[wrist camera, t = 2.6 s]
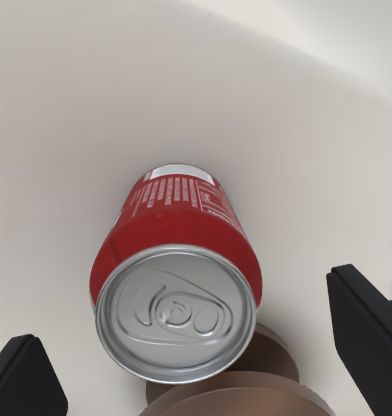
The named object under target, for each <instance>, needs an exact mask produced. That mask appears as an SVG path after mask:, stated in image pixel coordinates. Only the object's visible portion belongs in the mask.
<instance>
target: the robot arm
mask: <svg viewBox="0 0 392 416" xmlns="http://www.w3.org/2000/svg"><path fill="white" fill-rule="evenodd" d="M326 279H327V287H328V295H329V303H330V310H331V318H332V326H333V334H334V341H335V347H336V350H337V352H338V355H339V357H340V358H341V360H342V362H343V363H344V365H345V367H346V368H347V370H348V372H349V373H350V375H351V377H352V378H353V380H354V382H355V383H356V385H357V387H358V388H359V390H360V392H361V393H362V395H363V397H364V398H365V400H366V402H367V404H368V405H369V407H370V409H371V410H372V412H373V414H374V415H375V416H392V300H390V301H388V300H387V299H386V298H385V297H384V296H383V295H382V294H381V293H380V292H379V291H378V290H377V289H376V288H375V287H374V286H373V285H372V284H371V283H370V282H369V281H368V280H367V279H366V278H365V277H364V276H363V275H362V274H361V273H360V272H359V271H358V270H357V269H356V268H355V267H354V266H353V265H352V264H347V265H342V266H337V267H333V268H332V269H331V273H328V274H326ZM67 411H68V401H67V398H66V396H65V394H64V391H63V389H62V387H61V385H60V383H59V380H58V378H57V376H56V374H55V371H54V369H53V367H52V365H51V363H50V360H49V358H48V356H47V354H46V351H45V349H44V347H43V345H42V343H41V341H40V339H39V338H38V337H34V335H32V334H27V335H22V336H18V337H13V338H11V339H10V340H9V341H8V343H7V344H6V346H5V347H4V348H3V350H2V351H1V352H0V416H66V414H67Z"/></svg>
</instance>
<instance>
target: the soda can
mask: <svg viewBox="0 0 392 416" xmlns="http://www.w3.org/2000/svg"><path fill="white" fill-rule="evenodd" d="M261 296H262V276H261V270H260V266H259V263H258V260H257V258H256V255H255V253H254V251H253V249H252V247H251V245H250V243H249V241H248V239H247V237H246V235H245V233H244V231H243V229H242V227H241V225H240V223H239V221H238V219H237V217H236V215H235V213H234V210H233V208H232V206H231V204H230V202H229V200H228V198H227V196H226V194H225V192H224V190H223V188H222V187H221V185H220V184H219V183H218V182H217V180H216V179H215V178H214V177H213V176H211V175H210V174H209V173H207V172H206V171H204V170H202V169H200V168H198V167H195V166H192V165H188V164H180V163H179V164H167V165H163V166H160V167H157V168H155V169H153V170H151V171H149V172H148V173H146V174H145V175H144V176H142V177H141V178H140V179H139V180H138V181H137V183H136V184H135V185H134V187H133V188H132V190H131V192H130V194H129V196H128V198H127V199H126V201H125V203H124V205H123V207H122V209H121V211H120V213H119V215H118V216H117V218H116V220H115V222H114V224H113V226H112V228H111V230H110V232H109V234H108V235H107V237H106V239H105V241H104V243H103V245H102V247H101V249H100V251H99V253H98V255H97V257H96V259H95V261H94V264H93V267H92V271H91V275H90V299H91V304H92V308H93V311H94V314H95V323H96V329H97V333H98V336H99V339H100V341H101V343H102V345H103V347H104V349H105V350H106V352H107V353H108V354H109V356H110V357H111V358H112V359H113V360H114V361H115V362H116V363H117V364H118V365H119V366H121V367H122V368H123V369H125V370H126V371H128V372H129V373H131V374H133V375H135V376H137V377H139V378H142V379H145V380H148V381H151V382H156V383H162V384H187V383H193V382H197V381H201V380H204V379H207V378H210V377H212V376H214V375H216V374H218V373H220V372H222V371H223V370H225V369H226V368H228V367H229V366H230V365H231V364H233V363H234V362H235V361H236V360H237V359H238V358H239V357H240V356H241V354H242V353H243V352H244V350H245V349H246V347H247V346H248V344H249V342H250V340H251V338H252V335H253V332H254V329H255V324H256V313H257V311H258V308H259V305H260V302H261Z"/></svg>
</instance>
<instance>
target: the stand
mask: <svg viewBox="0 0 392 416" xmlns="http://www.w3.org/2000/svg"><path fill="white" fill-rule="evenodd" d="M146 398H147V403H148V407H147V408H146V409H145V410H144V411H143V412H142V413H141V414H140V415H139V416H335V414H334V412H333V410H332V409H331V408H330V407H329V406H328V404H327V403H326V402H325V401H324V400H323V399H322V398H321V397H319V396H318V395H317V394H316V393H315V392H313V391H312V390H310V389H309V388H307V387H306V386H304V385H302V384H300V383H299V374H298V369H297V367H296V364H295V361H294V359H293V357H292V355H291V352H290V351H289V349H288V347H287V346H286V344H285V343H284V342H283V341H282V339H281V338H280V337H278V336H277V335H276V334H275V333H274V332H272V331H271V330H269V329H268V328H266V327H264V326H262V325H260V324H258V323H256V324H255V329H254V332H253V335H252V338H251V340H250V342H249V344H248V346H247V347H246V349H245V350H244V352H243V353H242V354H241V356H240V357H239V358H238V359H237V360H236V361H235V362H234V363H233V364H231V365H230V366H229V367H228V368H226V369H225V370H223V371H222V372H220V373H218V374H216V375H214V376H212V377H210V378H207V379H204V380H201V381H197V382H193V383H187V384H162V383H156V382H151V381H148V380H147V384H146Z"/></svg>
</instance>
